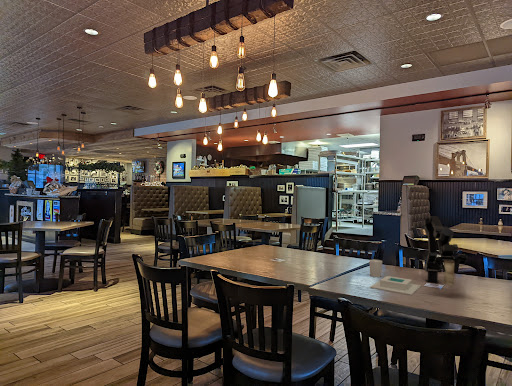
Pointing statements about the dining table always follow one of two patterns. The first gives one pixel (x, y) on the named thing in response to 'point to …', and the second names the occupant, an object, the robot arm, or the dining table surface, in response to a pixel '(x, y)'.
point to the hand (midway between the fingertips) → (449, 271)
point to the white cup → (375, 268)
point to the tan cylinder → (449, 272)
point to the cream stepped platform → (396, 285)
